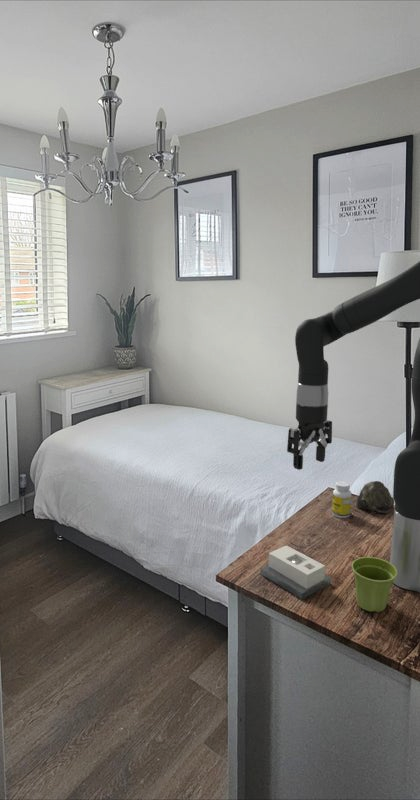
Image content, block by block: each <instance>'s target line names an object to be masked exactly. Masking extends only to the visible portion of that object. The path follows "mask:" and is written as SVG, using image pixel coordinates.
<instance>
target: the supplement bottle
mask: <svg viewBox="0 0 420 800" xmlns="http://www.w3.org/2000/svg"><path fill="white" fill-rule="evenodd" d="M352 496H353V495H352V491H351V490H350V483H349V482H347V481H343V480H342V481H336V483H335V488H334V490H333V491H332V502H331V505H332V506H331V513H332V515H333V516H334V517H335V518H340V519H345V518H349V517H350V516H351V510H352Z"/></svg>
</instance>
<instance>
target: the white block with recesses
mask: <svg viewBox="0 0 420 800" xmlns="http://www.w3.org/2000/svg"><path fill="white" fill-rule="evenodd" d="M292 559H299V560H301V563H300V564H298V565H296V564H294V563H292V562H291V560H292ZM268 565H269V567H270V568H272V569H274V570H276V571H277V572H279V573H281V574H282V575H284V576H286V577H287V578H289V579H291V580H292V581H294V582H296V583H298V584H299V585H301V586H303V587H304V588H306V589H308V588H310V587H312V586H313V585H315V584H317V583H319V582H321V581H323V580H324V578H325V574H326V573H325V572H326V565H325V564H322V563H321V562H319V561H317V560H315V559H313V558H311V557H310V556H307V555H305V554H304V553H302V552H300V551H298V550H297V549H294V548H293V547H291V546H288V545H284V546H281V547H280V548H277V549H275V550H273V551H270V552H269V553H268Z"/></svg>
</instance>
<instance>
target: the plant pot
mask: <svg viewBox="0 0 420 800" xmlns="http://www.w3.org/2000/svg"><path fill="white" fill-rule="evenodd" d="M351 570H352V572H353V576H354V580H355V581H354V583H355V598H356V599H355V600H356V603H357V605H358V607H360V608H361V609H363V610H364V611H367V612H377V613H381V612H383V611H384V610H385V609H386V607H387V605H388V600H389V598H390V597H389V596H390V593H391V588H392V586H393V584H394V583H393V581H394V579H395V578H396V577H397V573H398V572H397V569H396V568H395V566H394V565H392V564H391V563H390V561H388V560H385V559H383V558H379V557H375V556H374V557H373V556H362V557H361V556H360V557H358V558H356V559H354V560H353V561H352V563H351Z"/></svg>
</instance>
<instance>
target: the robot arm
mask: <svg viewBox="0 0 420 800" xmlns="http://www.w3.org/2000/svg"><path fill="white" fill-rule="evenodd" d="M417 300H420V260H418V262H416V263H415V264H413V265H412V266H410V267H409V268H408V269H406V270H404V271H403V272H401V273H399V274H397V275H396V276H395V277H392V278H390V279H389V280H387V281H385V282H383V283H380V284H379V285H376V286H375V287H372V288H370V289H368V290H366V291H363V292H362V293H360V294H357V295H356V296H353V297H351V298H350V299H348V300H345V301H344V302H342V303H340V304H338V305H337V306H335V307H334V309H333V310H330V311H328V312H327V313H325V314H322V315H320V316H317V317H315V318H308V319H305V320H303V321H301V322H300V324H299V325H298V326H297V328H296V332H295V338H294V341H295V342H294V343H295V350H296V359H297V362H298V376H297V378H298V379H297V388H296V389H297V390H296V397H295V399H296V400H295V401H296V403H295V405H296V406H295V419H296V421H297V423H298V425H297V428H291V427H290V428H289V429H288V435H287V445H286V446H287V449H286V452H287V453H289V454H293V455H292V457H293V458H292V459H293V462H292V463H293V464H292V465H293V468H294V469H296V470H298V471H300V470H303V465H304V464H303V463H304V462H303V461H304V452H305V450H306V449H307V448H308V447H309V446H310V444H312V443H314V442H315V444H316V445H317V446H316V448H315V461H317V462H321V463H322V462H325V458H326V449H327V447H328V445H329V444H330V445H331V444H332V441H333V421H332V420H328V408H329V384H328V383H329V363H328V361H327V360H326V359H325V355H324V347H325V346H328V345H329V344H332V343H334V342H336V341H337V340H339V339H341V338H343V337H344V336H347V335H349V334H351V333H355V332H357V331H358V330H361V329H363V328H365V327H367V326H370V325H372V324H374V323H376V322H378V321H379V320H381V319H383V318H384V317H386V316H388V315H390V314H391V313H393V312H395V311H396V310H399V309H400V308H402V307H404V306H406V305H409V304H410V303H414V302H415V301H417ZM410 382H411V383H410V384H411V396H412V403H413V408H414V410H413V411H414V421H413V427H412V431H411V436H410V439H409V443H408V445H407V447H405V448H404V449H403V450H401V451H400V453H399V454H398V455H397V457H396V459H395V463H394V471H393V486H392V488H393V489H392V496H393V497H392V498H393V499H394V513H393V522H392V523H393V524H392V533H391V534H392V535H391V546H390V556H389V557H390V558H389V563H391V564H392V565H394V566H395V568H396V569H397V572H398V573H397V577H396V578H395V579H394V581H393V583H392V584H394V585H396V586H397V587H399V588H402V589H404V590H409V591H415V592H418V593H420V337H419V339H418V342H417V345H416V349H415V353H414V358H413V364H412V373H411V381H410ZM326 435H327V437H326ZM299 447H300V448H299Z"/></svg>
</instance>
